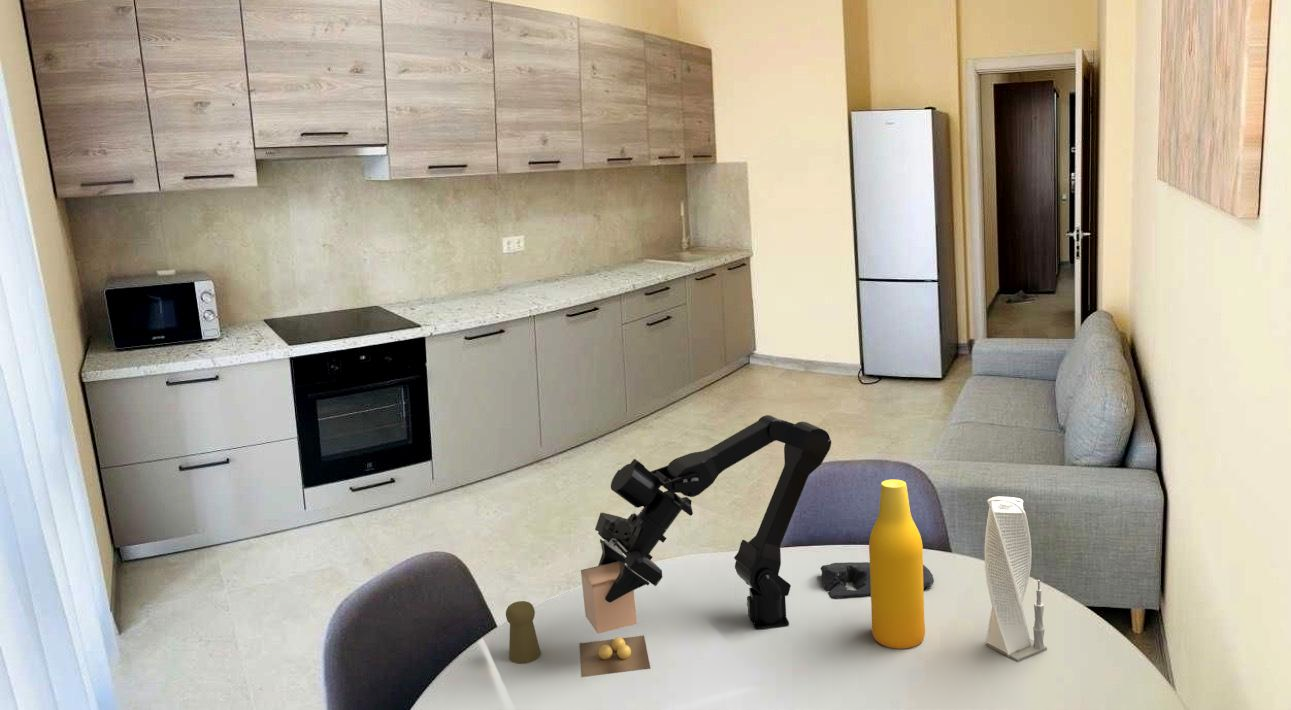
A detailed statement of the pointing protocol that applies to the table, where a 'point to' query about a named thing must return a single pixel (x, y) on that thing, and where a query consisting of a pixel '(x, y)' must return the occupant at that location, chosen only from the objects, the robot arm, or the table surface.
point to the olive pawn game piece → (522, 633)
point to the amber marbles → (618, 646)
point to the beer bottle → (896, 571)
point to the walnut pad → (613, 657)
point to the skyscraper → (1010, 580)
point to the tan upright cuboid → (597, 607)
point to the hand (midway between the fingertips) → (600, 592)
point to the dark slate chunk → (855, 579)
